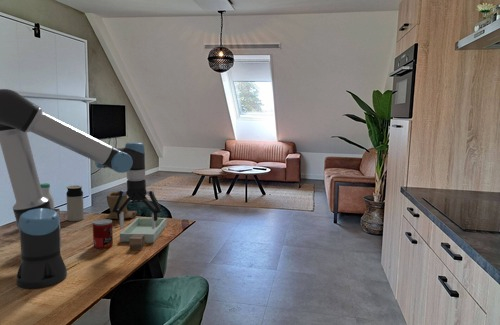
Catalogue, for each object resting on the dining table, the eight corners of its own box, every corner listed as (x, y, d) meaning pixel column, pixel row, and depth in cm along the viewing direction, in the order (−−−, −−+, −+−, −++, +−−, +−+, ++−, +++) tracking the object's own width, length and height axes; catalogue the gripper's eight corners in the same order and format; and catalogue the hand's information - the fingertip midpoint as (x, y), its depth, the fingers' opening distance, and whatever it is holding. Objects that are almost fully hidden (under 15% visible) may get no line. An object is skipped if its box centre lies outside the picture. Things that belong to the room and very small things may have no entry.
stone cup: (103, 221, 196) (103, 193, 194) (109, 215, 208) (108, 189, 206) (133, 221, 198) (132, 193, 196) (137, 215, 210) (137, 189, 208)
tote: (153, 243, 165) (153, 234, 165) (119, 242, 165) (119, 233, 165) (166, 225, 191) (166, 218, 191) (137, 225, 191) (137, 217, 190)
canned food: (106, 250, 156) (105, 224, 154) (89, 248, 157) (88, 223, 156) (116, 243, 163) (115, 219, 162) (100, 242, 165) (99, 218, 163)
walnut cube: (141, 250, 157) (141, 238, 156) (129, 249, 157) (129, 238, 156) (144, 245, 162) (144, 234, 161) (133, 245, 162) (133, 234, 161)
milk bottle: (57, 221, 195) (56, 183, 192) (43, 224, 188) (41, 185, 186) (49, 218, 199) (47, 182, 197) (34, 222, 193) (32, 184, 190)
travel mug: (83, 220, 197) (82, 187, 194) (66, 222, 194) (65, 188, 191) (84, 216, 204) (83, 184, 202) (68, 218, 201) (66, 185, 199)
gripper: (167, 177, 159) (168, 225, 162) (109, 177, 159) (112, 225, 162) (163, 181, 152) (165, 231, 155) (103, 180, 152) (105, 230, 155)
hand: (137, 228), depth 158 cm, fingers open, 13 cm apart
